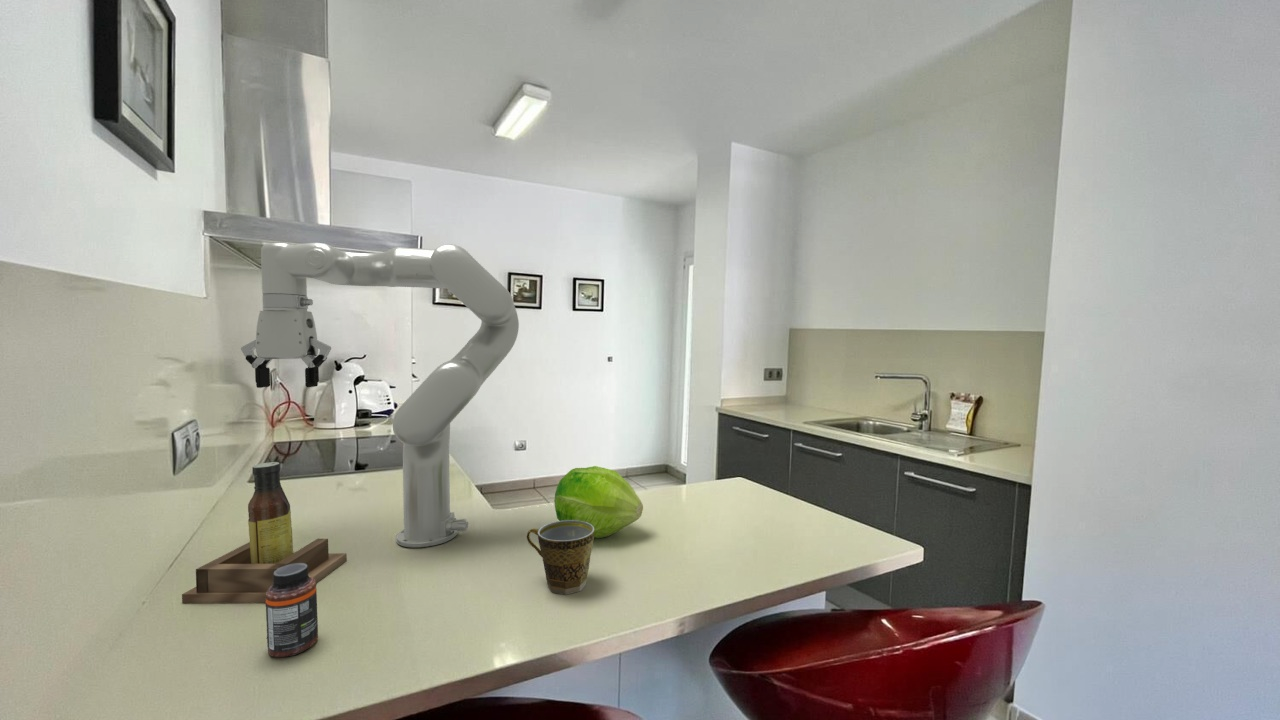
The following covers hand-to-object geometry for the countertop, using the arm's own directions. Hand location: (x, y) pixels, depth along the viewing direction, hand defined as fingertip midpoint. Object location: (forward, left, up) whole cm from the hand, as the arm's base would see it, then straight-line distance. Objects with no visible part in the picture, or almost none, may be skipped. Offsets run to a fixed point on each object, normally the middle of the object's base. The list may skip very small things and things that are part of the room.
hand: (287, 386), depth 103 cm
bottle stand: (-6, +14, -34) cm, 37 cm away
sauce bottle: (-6, +13, -33) cm, 36 cm away
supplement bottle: (-24, +34, -35) cm, 54 cm away
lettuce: (-64, -7, -35) cm, 73 cm away
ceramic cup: (-59, +16, -35) cm, 70 cm away
